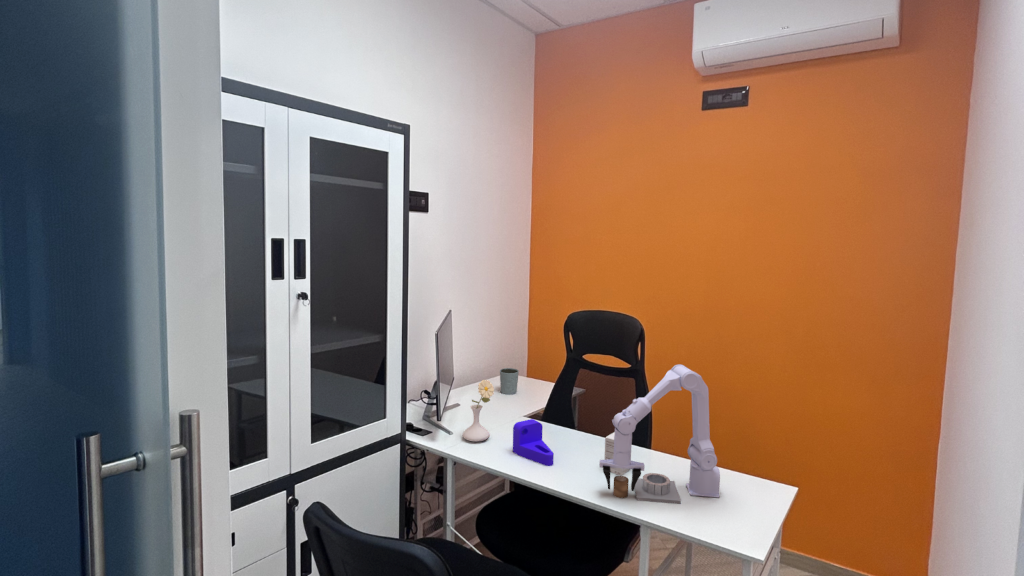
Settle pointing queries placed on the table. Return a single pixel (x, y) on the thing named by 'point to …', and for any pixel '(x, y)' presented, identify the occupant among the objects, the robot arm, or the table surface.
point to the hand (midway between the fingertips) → (620, 488)
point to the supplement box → (609, 454)
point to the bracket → (531, 442)
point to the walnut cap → (620, 487)
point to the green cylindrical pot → (508, 381)
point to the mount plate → (668, 498)
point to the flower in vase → (476, 430)
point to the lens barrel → (656, 484)
